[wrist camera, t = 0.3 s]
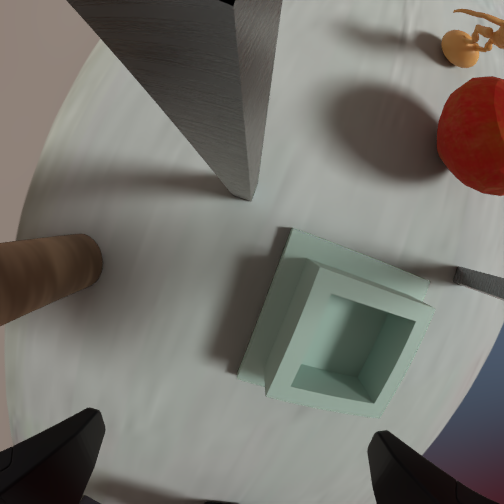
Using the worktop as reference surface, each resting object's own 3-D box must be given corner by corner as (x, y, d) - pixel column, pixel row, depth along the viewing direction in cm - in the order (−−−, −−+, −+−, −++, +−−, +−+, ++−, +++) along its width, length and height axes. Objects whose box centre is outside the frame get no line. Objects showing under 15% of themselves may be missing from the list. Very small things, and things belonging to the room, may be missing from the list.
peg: (101, 292, 22) (-7, 347, 9) (60, 281, 22) (-48, 321, 9) (104, 237, 21) (-15, 256, 9) (62, 230, 21) (-54, 242, 9)
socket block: (366, 403, 23) (385, 435, 18) (237, 372, 22) (233, 408, 17) (424, 279, 22) (459, 292, 17) (291, 227, 21) (303, 230, 16)
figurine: (478, 61, 19) (545, 19, 7) (481, 105, 20) (563, 70, 8) (415, 25, 19) (474, -40, 7) (416, 68, 20) (492, 3, 8)
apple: (485, 138, 20) (565, 116, 9) (468, 217, 21) (561, 220, 10) (419, 88, 20) (493, 34, 9) (396, 169, 21) (488, 140, 10)
